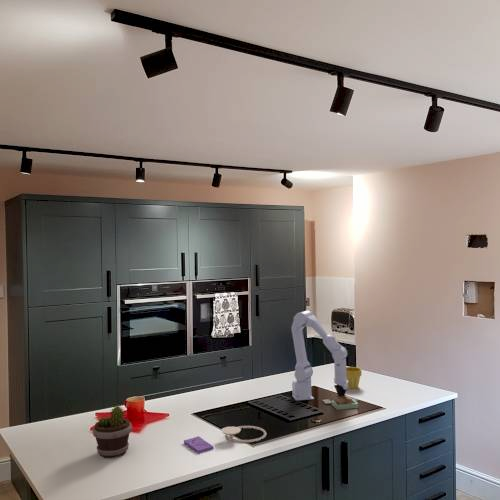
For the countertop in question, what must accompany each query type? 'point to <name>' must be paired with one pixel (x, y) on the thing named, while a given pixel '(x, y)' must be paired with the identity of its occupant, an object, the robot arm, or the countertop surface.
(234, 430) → the hand towel holder
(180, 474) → the countertop surface
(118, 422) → the flowerpot
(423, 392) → the countertop surface
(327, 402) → the green u-shaped piece
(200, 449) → the sponges
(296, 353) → the robot arm
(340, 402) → the walnut block
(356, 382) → the plant pot
